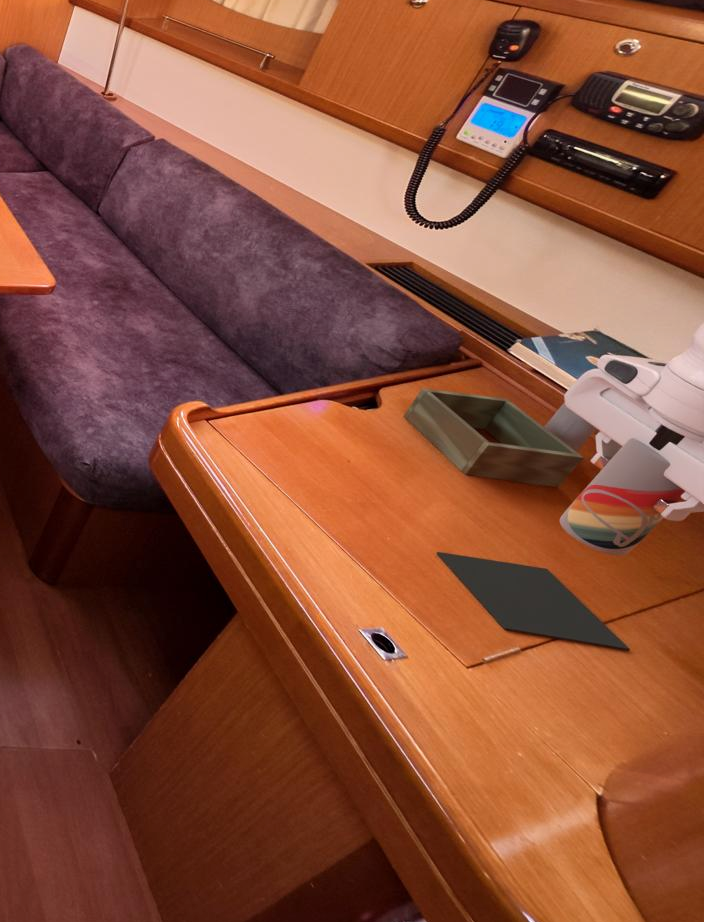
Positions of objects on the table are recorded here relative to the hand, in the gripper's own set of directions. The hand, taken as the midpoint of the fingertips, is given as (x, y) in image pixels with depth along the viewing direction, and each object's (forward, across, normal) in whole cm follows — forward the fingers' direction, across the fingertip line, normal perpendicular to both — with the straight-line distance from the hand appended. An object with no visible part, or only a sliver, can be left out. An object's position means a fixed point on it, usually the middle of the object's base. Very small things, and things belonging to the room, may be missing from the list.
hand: (632, 490), depth 76 cm
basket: (+22, +30, -17) cm, 41 cm away
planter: (+22, +32, -30) cm, 49 cm away
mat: (+22, 0, 0) cm, 22 cm away
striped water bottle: (+9, 0, 0) cm, 9 cm away
